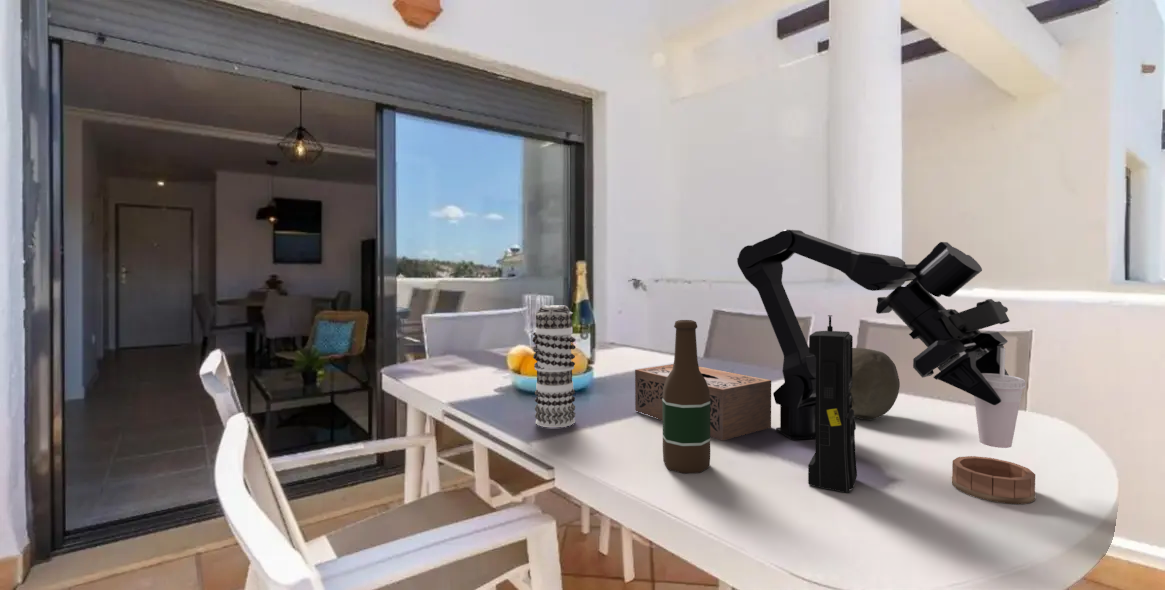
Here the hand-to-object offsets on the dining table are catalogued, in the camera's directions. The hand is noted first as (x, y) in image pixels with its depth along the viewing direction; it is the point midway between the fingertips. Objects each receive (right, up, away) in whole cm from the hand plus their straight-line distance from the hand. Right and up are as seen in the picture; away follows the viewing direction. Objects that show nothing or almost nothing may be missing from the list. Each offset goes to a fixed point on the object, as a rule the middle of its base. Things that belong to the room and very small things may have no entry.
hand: (1007, 400), depth 76 cm
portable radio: (-23, -14, +4) cm, 27 cm away
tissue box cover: (-35, -12, +40) cm, 55 cm away
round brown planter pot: (-1, -13, +1) cm, 13 cm away
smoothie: (0, -7, +2) cm, 7 cm away
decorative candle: (-66, -13, +38) cm, 78 cm away
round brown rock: (0, -12, +40) cm, 41 cm away
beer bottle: (-43, -13, +12) cm, 47 cm away
